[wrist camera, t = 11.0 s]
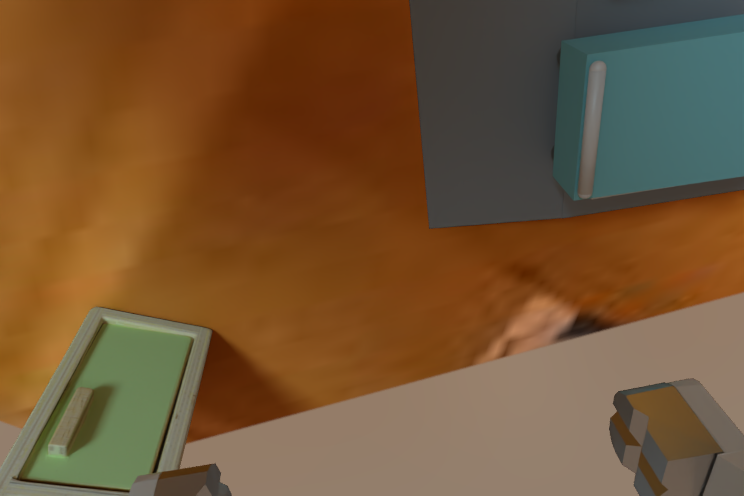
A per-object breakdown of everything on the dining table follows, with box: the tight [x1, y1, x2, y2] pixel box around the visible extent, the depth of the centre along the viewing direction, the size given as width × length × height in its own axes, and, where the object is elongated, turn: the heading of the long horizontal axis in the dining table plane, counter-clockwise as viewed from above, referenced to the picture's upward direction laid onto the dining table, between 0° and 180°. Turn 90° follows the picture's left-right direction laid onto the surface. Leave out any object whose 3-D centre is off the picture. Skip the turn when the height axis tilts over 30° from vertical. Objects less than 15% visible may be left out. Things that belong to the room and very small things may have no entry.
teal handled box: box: [551, 14, 744, 201], centre depth 26 cm, size 7×10×5 cm
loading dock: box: [409, 0, 744, 229], centre depth 28 cm, size 16×21×4 cm
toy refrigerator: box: [0, 307, 213, 496], centre depth 28 cm, size 8×7×21 cm
